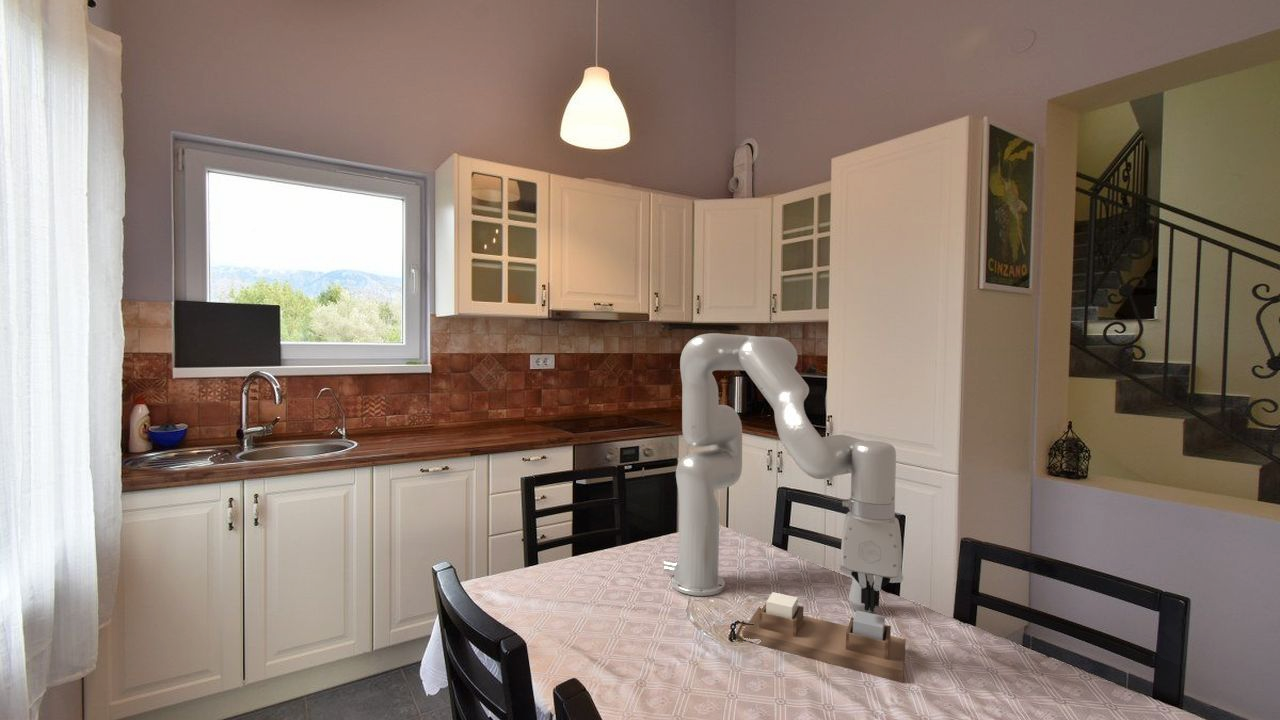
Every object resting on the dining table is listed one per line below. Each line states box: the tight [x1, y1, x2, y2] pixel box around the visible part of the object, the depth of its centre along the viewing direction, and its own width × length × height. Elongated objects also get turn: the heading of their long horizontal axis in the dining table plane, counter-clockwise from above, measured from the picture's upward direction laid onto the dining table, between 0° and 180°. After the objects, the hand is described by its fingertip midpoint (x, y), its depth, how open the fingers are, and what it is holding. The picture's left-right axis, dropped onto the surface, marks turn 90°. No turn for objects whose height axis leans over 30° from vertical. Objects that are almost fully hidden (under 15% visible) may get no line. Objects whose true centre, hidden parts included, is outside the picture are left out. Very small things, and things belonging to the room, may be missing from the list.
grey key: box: [853, 610, 886, 640], centre depth 104 cm, size 5×5×2 cm
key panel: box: [742, 603, 907, 683], centre depth 108 cm, size 28×12×5 cm, turn 62°
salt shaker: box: [848, 574, 877, 614], centre depth 123 cm, size 6×6×13 cm
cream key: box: [765, 591, 799, 619], centre depth 112 cm, size 5×5×2 cm
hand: (870, 608), depth 104 cm, fingers closed
